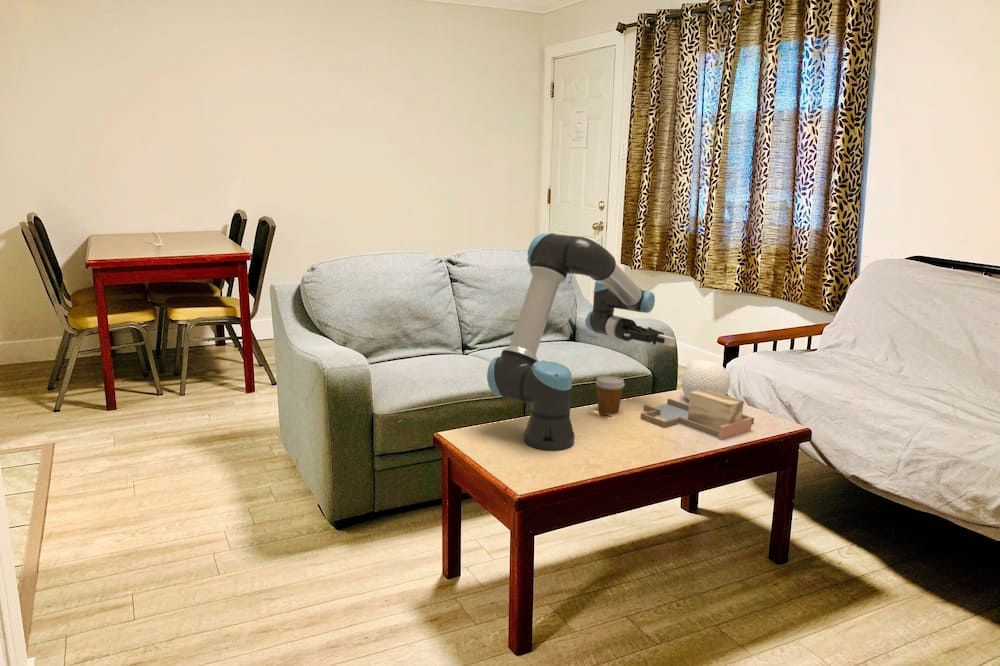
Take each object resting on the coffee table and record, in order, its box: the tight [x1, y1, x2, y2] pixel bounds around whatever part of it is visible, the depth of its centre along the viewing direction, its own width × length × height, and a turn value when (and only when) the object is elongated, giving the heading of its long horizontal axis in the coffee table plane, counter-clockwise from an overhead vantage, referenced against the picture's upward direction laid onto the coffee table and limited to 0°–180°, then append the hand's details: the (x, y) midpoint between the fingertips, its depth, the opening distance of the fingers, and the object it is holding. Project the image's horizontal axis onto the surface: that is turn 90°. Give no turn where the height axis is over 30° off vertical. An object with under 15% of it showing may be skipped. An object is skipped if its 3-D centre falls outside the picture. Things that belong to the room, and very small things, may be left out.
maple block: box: [688, 389, 745, 430], centre depth 241 cm, size 7×15×10 cm, turn 38°
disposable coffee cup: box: [595, 375, 626, 418], centre depth 253 cm, size 10×10×12 cm
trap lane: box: [639, 398, 755, 441], centre depth 247 cm, size 28×32×5 cm
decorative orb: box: [681, 359, 731, 400], centre depth 266 cm, size 20×18×16 cm
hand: (673, 342), depth 249 cm, fingers closed
